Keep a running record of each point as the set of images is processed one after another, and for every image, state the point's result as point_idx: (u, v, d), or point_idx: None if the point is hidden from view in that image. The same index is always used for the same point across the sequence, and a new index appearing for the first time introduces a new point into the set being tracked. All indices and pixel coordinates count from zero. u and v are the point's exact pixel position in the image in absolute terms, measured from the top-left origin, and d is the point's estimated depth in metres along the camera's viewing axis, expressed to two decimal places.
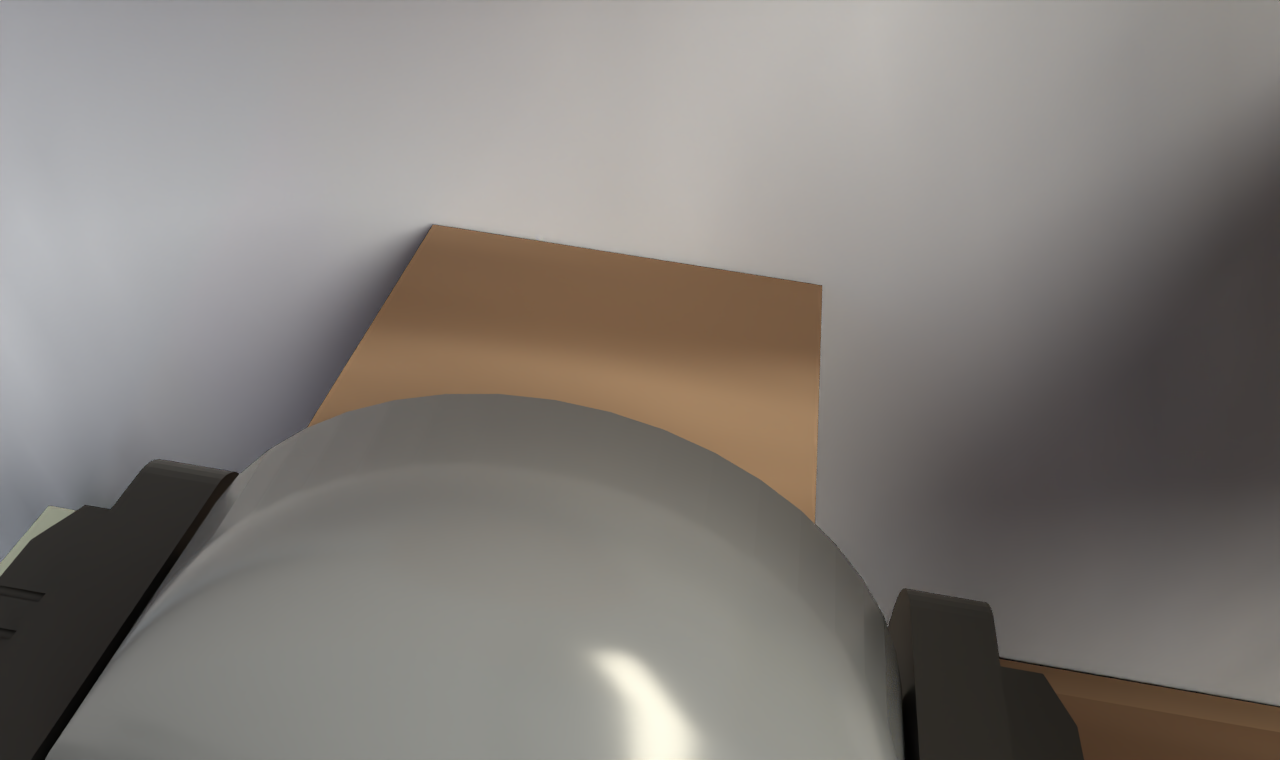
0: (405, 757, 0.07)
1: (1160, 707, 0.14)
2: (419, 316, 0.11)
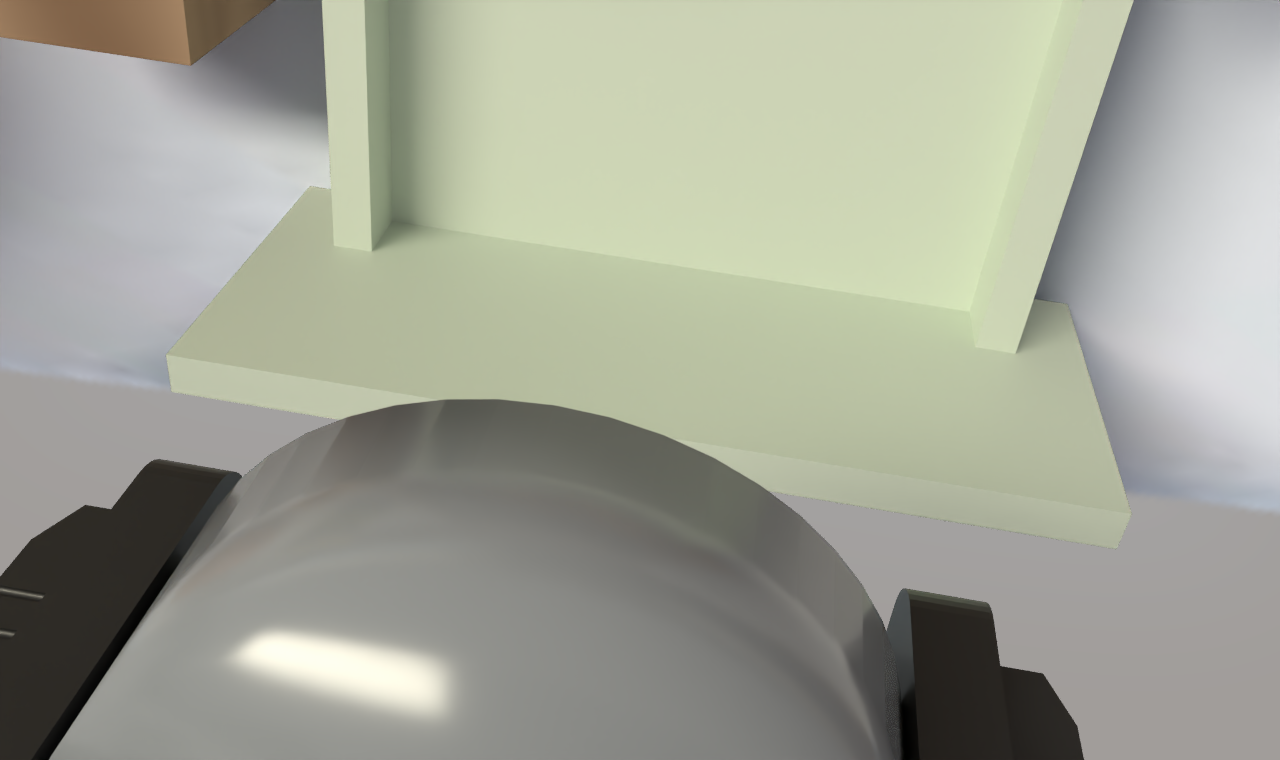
0: None
1: None
2: None
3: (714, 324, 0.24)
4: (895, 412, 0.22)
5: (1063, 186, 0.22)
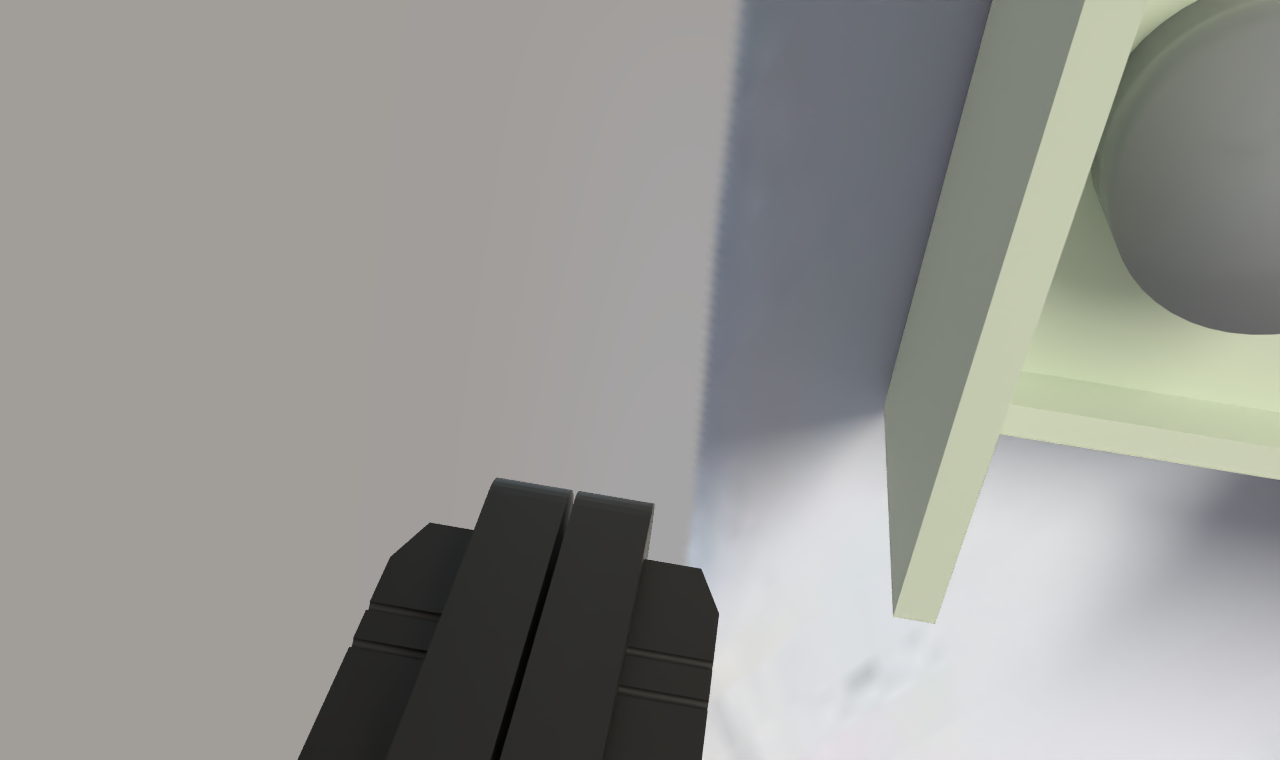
0: None
1: None
2: None
3: None
4: None
5: (1110, 447, 0.26)
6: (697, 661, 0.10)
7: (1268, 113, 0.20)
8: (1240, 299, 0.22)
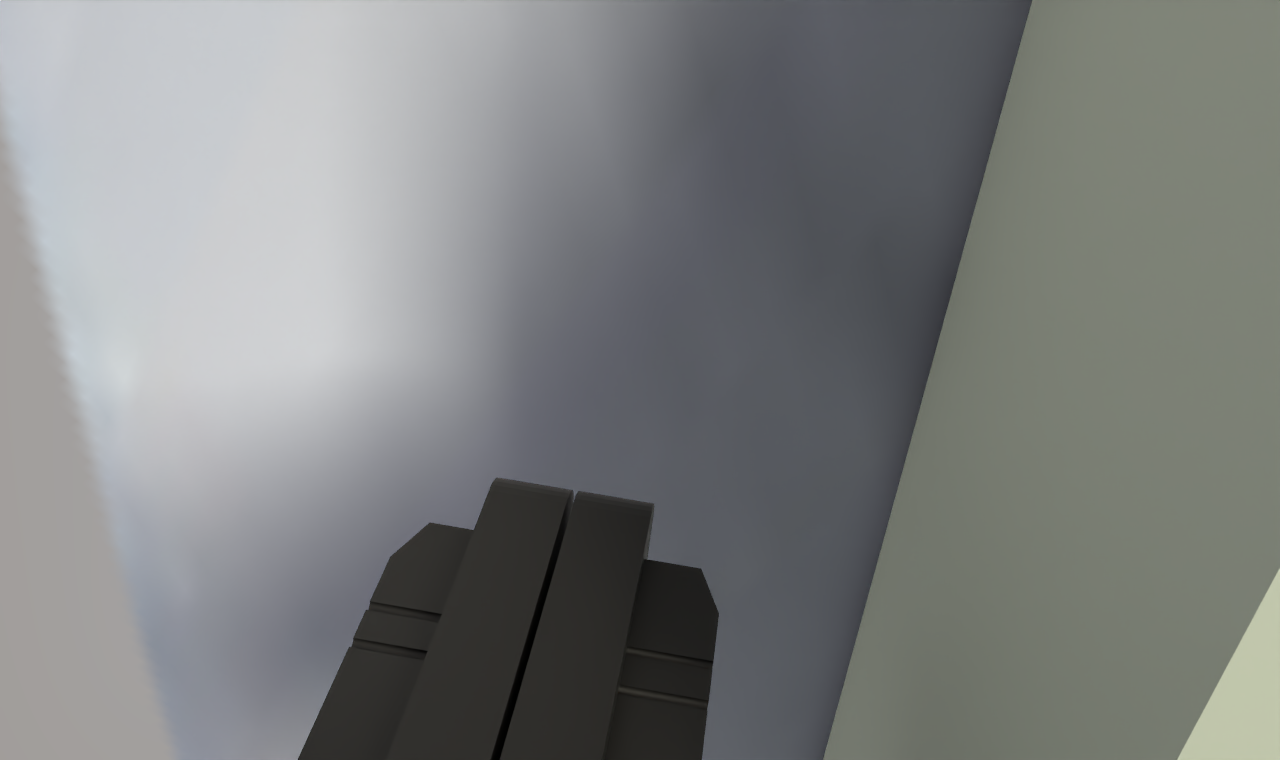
0: None
1: None
2: None
3: None
4: None
5: None
6: (697, 661, 0.10)
7: None
8: None
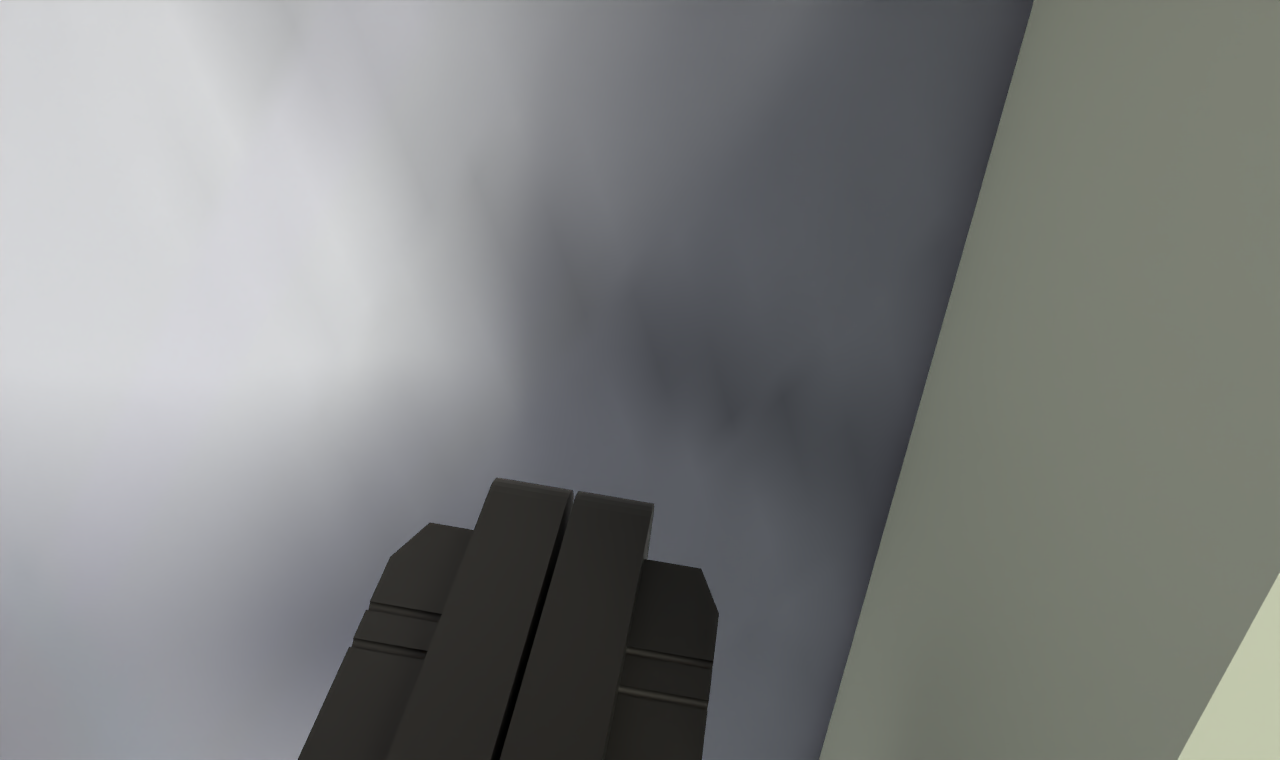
0: None
1: None
2: None
3: None
4: None
5: None
6: (697, 661, 0.10)
7: None
8: None
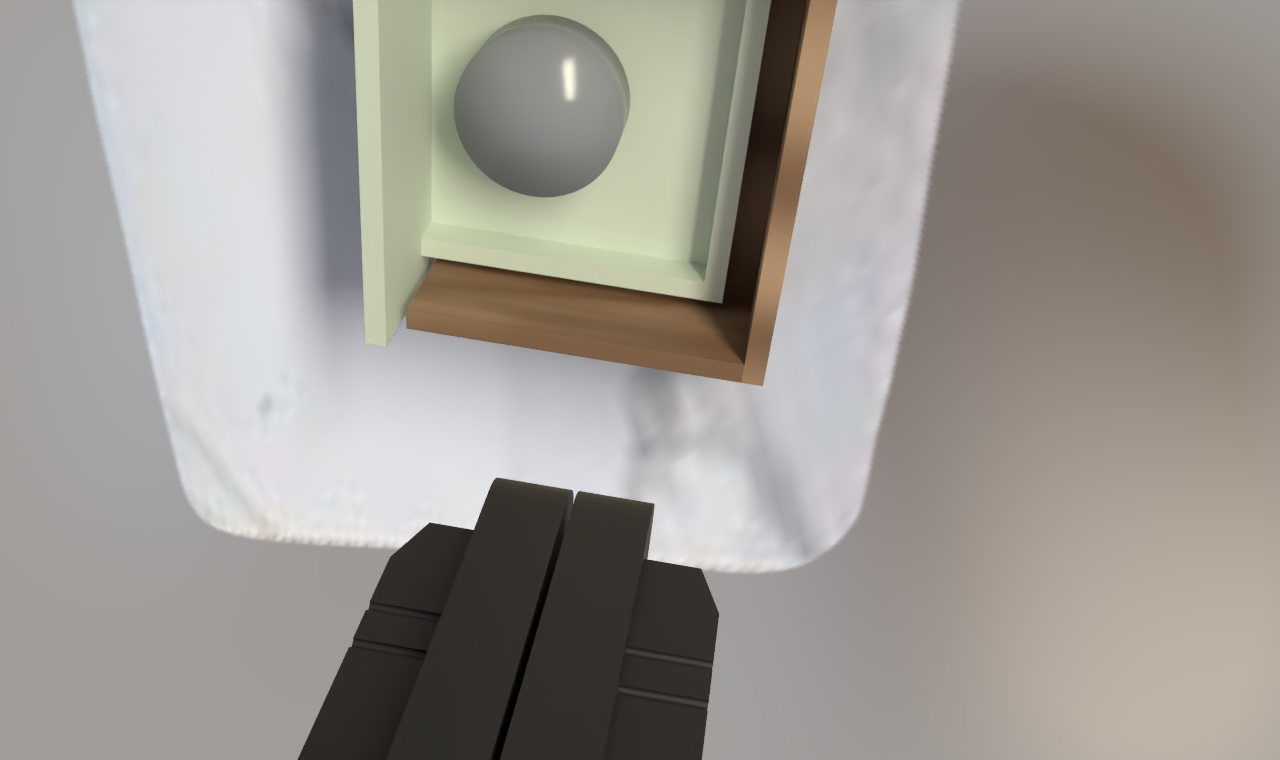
0: (595, 125, 0.42)
1: None
2: None
3: (415, 119, 0.44)
4: (399, 230, 0.44)
5: (512, 266, 0.47)
6: (697, 661, 0.10)
7: (517, 79, 0.42)
8: (524, 176, 0.44)
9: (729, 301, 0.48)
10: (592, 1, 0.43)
